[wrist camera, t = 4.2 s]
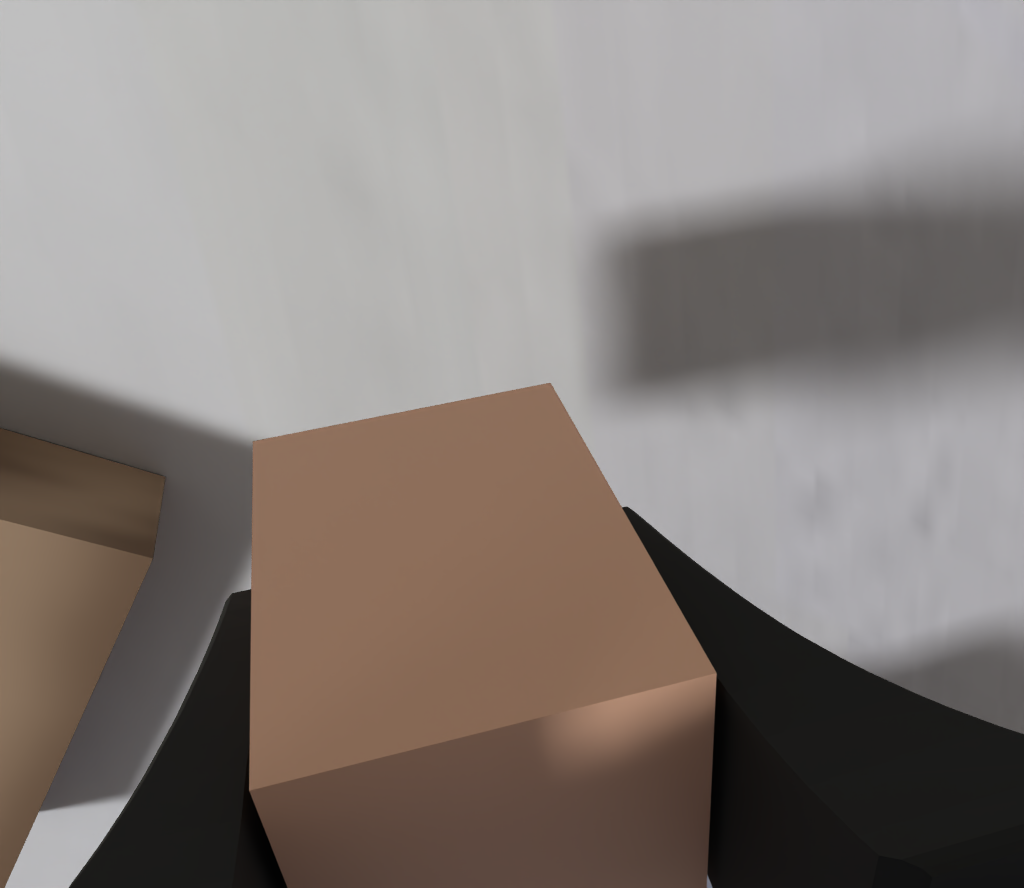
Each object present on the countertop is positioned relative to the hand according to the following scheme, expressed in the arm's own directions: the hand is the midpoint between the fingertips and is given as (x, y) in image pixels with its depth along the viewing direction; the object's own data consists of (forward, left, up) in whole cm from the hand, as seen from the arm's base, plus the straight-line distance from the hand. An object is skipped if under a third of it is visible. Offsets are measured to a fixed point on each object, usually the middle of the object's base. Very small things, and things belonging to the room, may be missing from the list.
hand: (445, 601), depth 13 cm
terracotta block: (0, 0, -2) cm, 2 cm away
